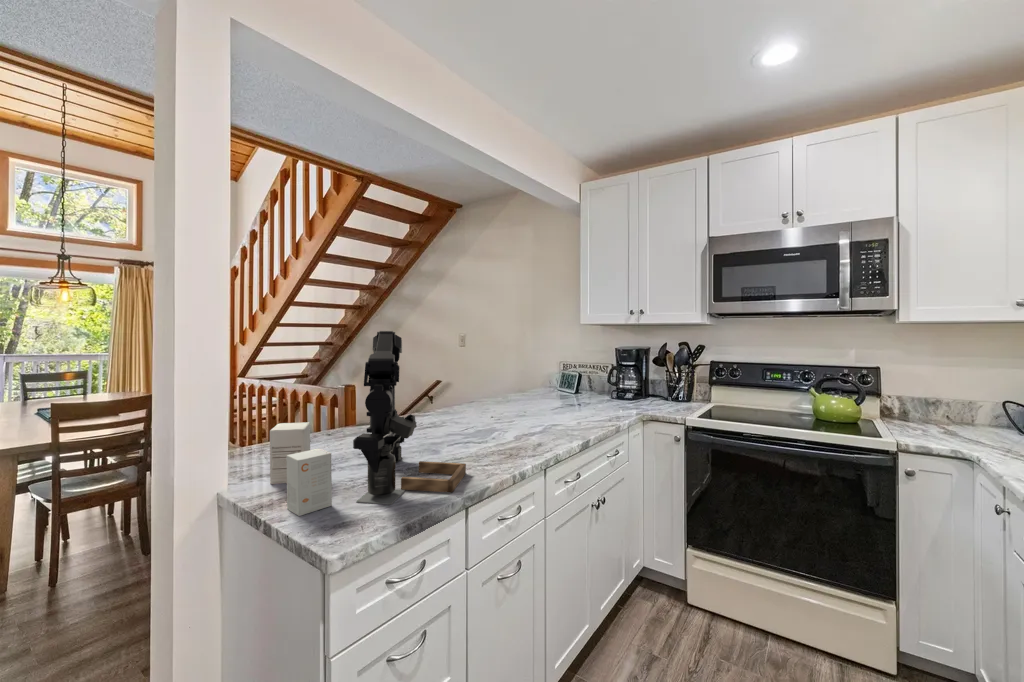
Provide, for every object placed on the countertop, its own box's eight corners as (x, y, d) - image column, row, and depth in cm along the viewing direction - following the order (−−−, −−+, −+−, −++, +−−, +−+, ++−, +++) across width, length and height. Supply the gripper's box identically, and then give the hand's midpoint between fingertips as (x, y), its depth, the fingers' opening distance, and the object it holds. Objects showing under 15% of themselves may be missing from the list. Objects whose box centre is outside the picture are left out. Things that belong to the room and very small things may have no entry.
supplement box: (277, 473, 129) (277, 422, 128) (311, 471, 131) (310, 421, 130) (268, 484, 120) (268, 430, 119) (304, 482, 122) (304, 428, 122)
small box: (319, 499, 110) (319, 447, 110) (332, 506, 106) (332, 452, 106) (286, 509, 104) (285, 454, 104) (298, 517, 100) (297, 460, 100)
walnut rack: (401, 489, 117) (401, 478, 117) (420, 471, 132) (420, 461, 132) (452, 492, 116) (452, 481, 116) (465, 473, 130) (465, 463, 130)
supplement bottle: (400, 488, 114) (401, 442, 114) (385, 498, 108) (385, 449, 108) (378, 485, 117) (378, 440, 116) (361, 494, 110) (361, 446, 110)
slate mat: (356, 502, 109) (356, 501, 108) (372, 489, 117) (372, 488, 117) (391, 504, 107) (391, 503, 107) (405, 491, 116) (405, 490, 116)
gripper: (397, 415, 101) (397, 482, 102) (424, 401, 120) (424, 458, 120) (351, 413, 103) (352, 479, 103) (385, 400, 121) (385, 456, 122)
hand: (381, 467), depth 112 cm, fingers closed on supplement bottle, 7 cm apart
